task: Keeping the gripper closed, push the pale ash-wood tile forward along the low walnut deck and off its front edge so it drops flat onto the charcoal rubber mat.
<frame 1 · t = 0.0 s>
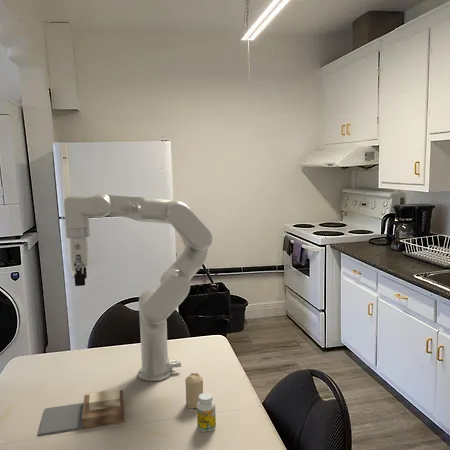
hand: (81, 281, 150), 37 cm above the table, tool pointing down, fingers open, 9 cm apart
candle: (194, 405, 139), on the table
supplement bottle: (206, 427, 127), on the table
mat: (63, 418, 132), on the table
deck: (104, 412, 135), on the table
tile: (104, 399, 135), point 4 cm above the table, touching deck
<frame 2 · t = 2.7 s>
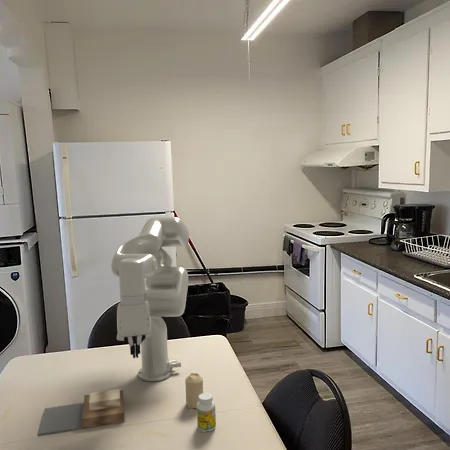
hand: (135, 356, 135), 17 cm above the table, tool pointing down, fingers closed
nothing on the table moved.
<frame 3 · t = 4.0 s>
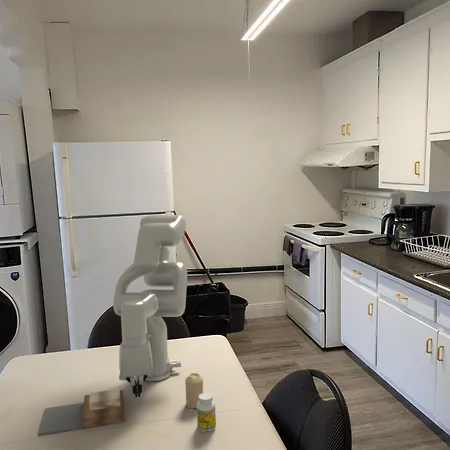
hand: (137, 395, 137), 4 cm above the table, tool pointing down, fingers closed
nothing on the table moved.
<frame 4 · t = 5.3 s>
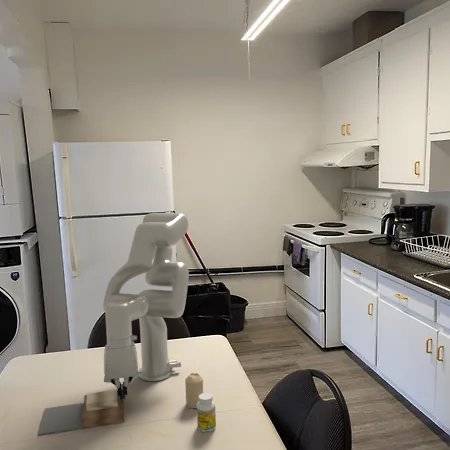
hand: (122, 397, 136), 4 cm above the table, tool pointing down, fingers closed
tile: (102, 400, 135), point 4 cm above the table, touching gripper
everything else where it was.
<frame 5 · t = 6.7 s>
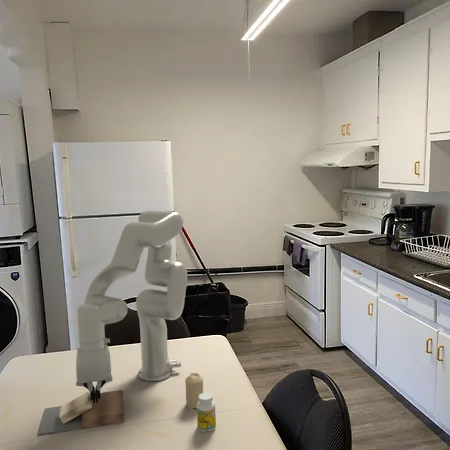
hand: (95, 401, 134), 4 cm above the table, tool pointing down, fingers closed
tile: (76, 407, 132), point 4 cm above the table, tilted 24°
everything else where it was.
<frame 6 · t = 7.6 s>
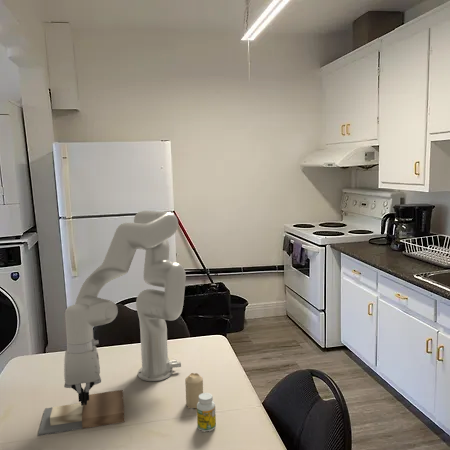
hand: (84, 402, 133), 4 cm above the table, tool pointing down, fingers closed
tile: (67, 413, 132), point 2 cm above the table, touching mat
everything else where it was.
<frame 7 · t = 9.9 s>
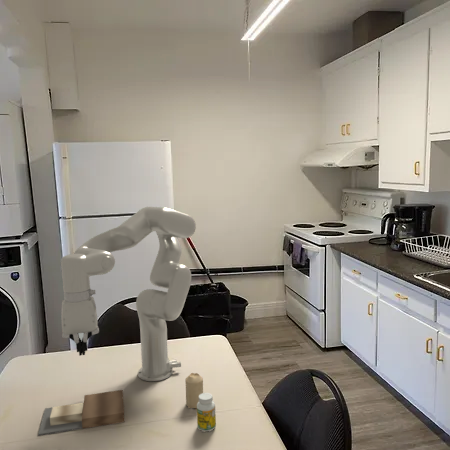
hand: (82, 353, 133), 19 cm above the table, tool pointing down, fingers closed
nothing on the table moved.
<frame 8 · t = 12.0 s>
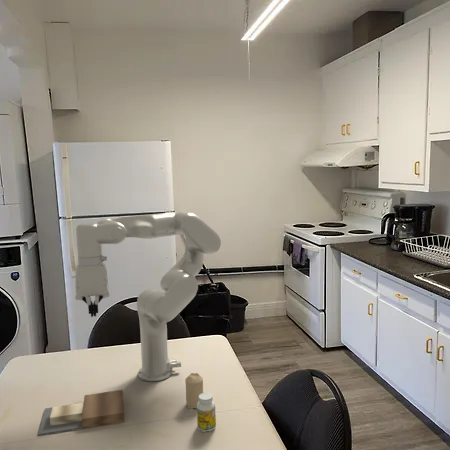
hand: (93, 315, 144), 27 cm above the table, tool pointing down, fingers closed
nothing on the table moved.
at the end: tile inside the target area (2.0 cm from its centre), point 1.7 cm above the table; tile touching mat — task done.
